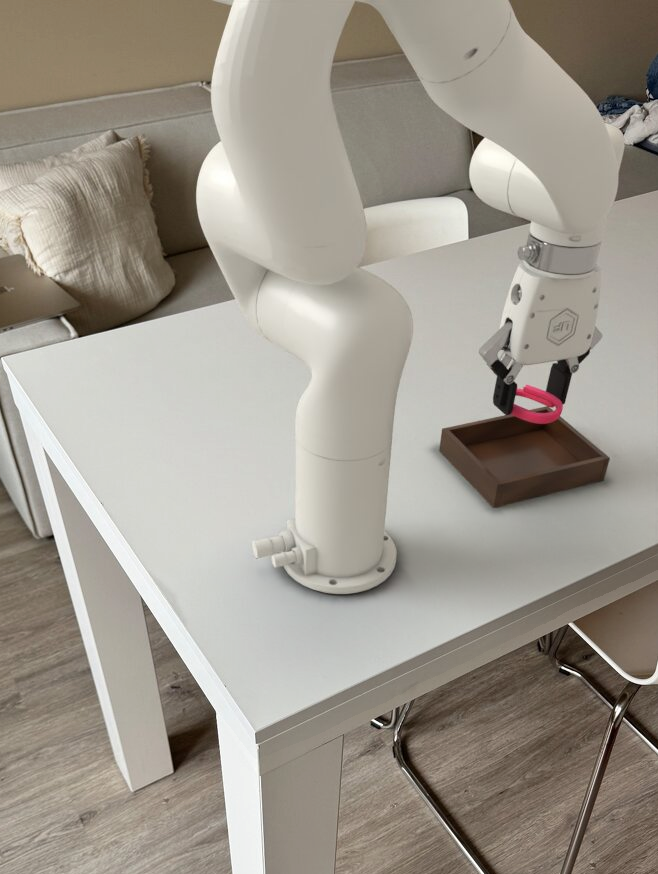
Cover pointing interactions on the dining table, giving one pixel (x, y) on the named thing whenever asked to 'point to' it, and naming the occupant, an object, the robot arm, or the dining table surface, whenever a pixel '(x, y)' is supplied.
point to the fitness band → (542, 398)
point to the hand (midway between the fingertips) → (528, 403)
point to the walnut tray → (522, 457)
